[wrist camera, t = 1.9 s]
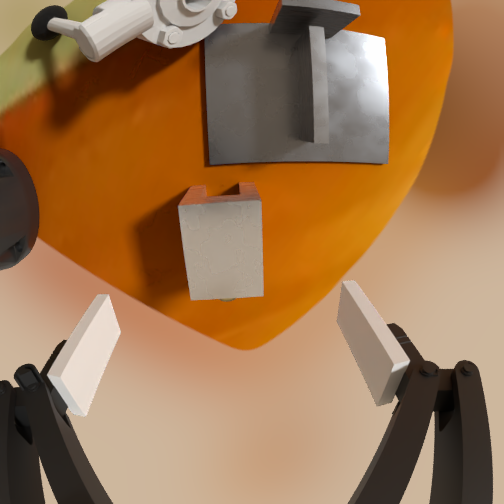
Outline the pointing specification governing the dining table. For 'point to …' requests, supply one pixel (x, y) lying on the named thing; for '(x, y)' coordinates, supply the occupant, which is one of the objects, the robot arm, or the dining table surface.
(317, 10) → the dark grey angled piece
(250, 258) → the hollow grey box
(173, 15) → the valve
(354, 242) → the dining table surface
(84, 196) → the dining table surface
